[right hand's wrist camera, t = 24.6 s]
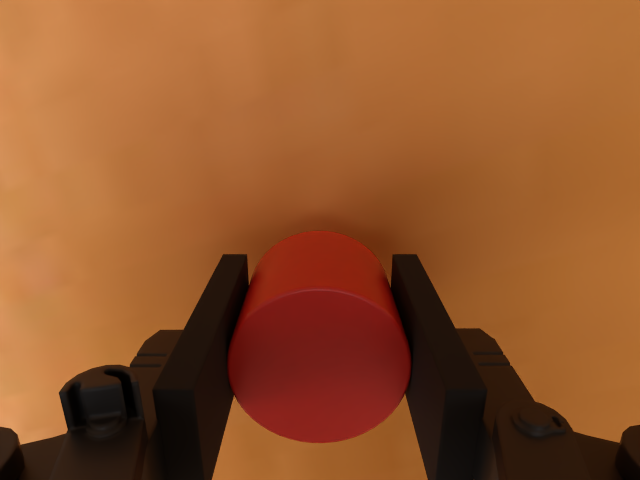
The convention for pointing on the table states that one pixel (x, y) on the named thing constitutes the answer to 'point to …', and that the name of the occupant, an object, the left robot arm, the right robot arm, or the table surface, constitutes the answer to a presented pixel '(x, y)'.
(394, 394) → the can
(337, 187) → the table surface
